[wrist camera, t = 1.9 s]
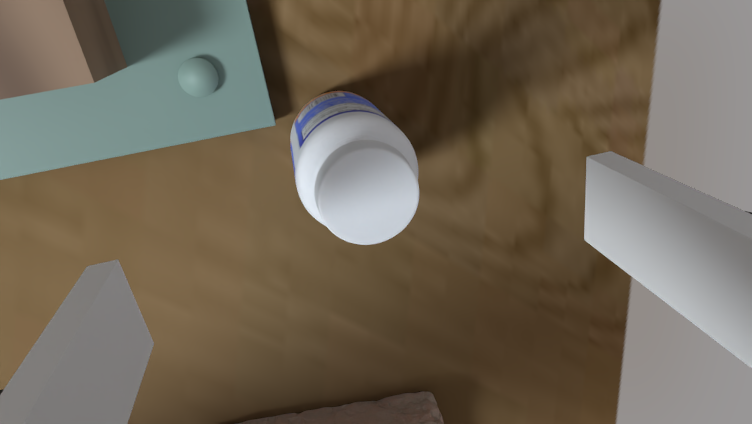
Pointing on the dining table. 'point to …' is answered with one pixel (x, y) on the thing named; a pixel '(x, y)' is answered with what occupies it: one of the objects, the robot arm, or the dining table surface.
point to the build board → (146, 90)
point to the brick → (368, 412)
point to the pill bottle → (354, 168)
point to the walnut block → (55, 45)
